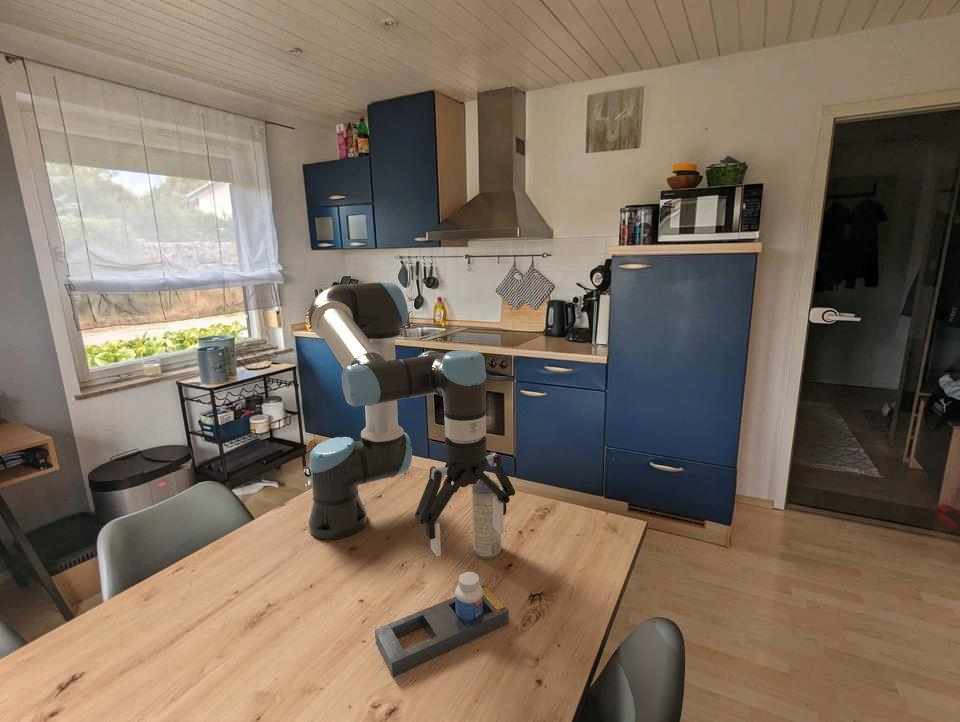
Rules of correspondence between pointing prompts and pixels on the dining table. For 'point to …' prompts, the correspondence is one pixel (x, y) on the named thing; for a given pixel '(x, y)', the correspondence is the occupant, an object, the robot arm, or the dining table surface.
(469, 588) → the pill bottle
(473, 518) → the aerosol can
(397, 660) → the grey bottle holder tray
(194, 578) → the dining table surface
